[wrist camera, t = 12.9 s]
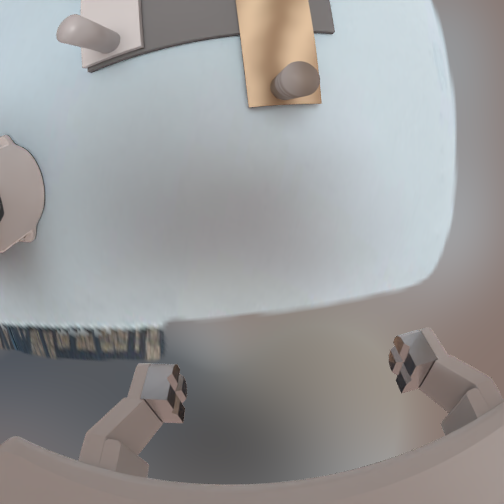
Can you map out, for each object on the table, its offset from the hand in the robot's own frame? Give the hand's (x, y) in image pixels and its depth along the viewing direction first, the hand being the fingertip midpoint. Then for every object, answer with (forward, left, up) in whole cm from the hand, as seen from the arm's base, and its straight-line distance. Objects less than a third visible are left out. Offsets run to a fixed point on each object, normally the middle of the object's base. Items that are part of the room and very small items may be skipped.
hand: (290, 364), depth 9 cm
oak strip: (+4, +21, -26) cm, 33 cm away
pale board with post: (-15, +30, -26) cm, 43 cm away
